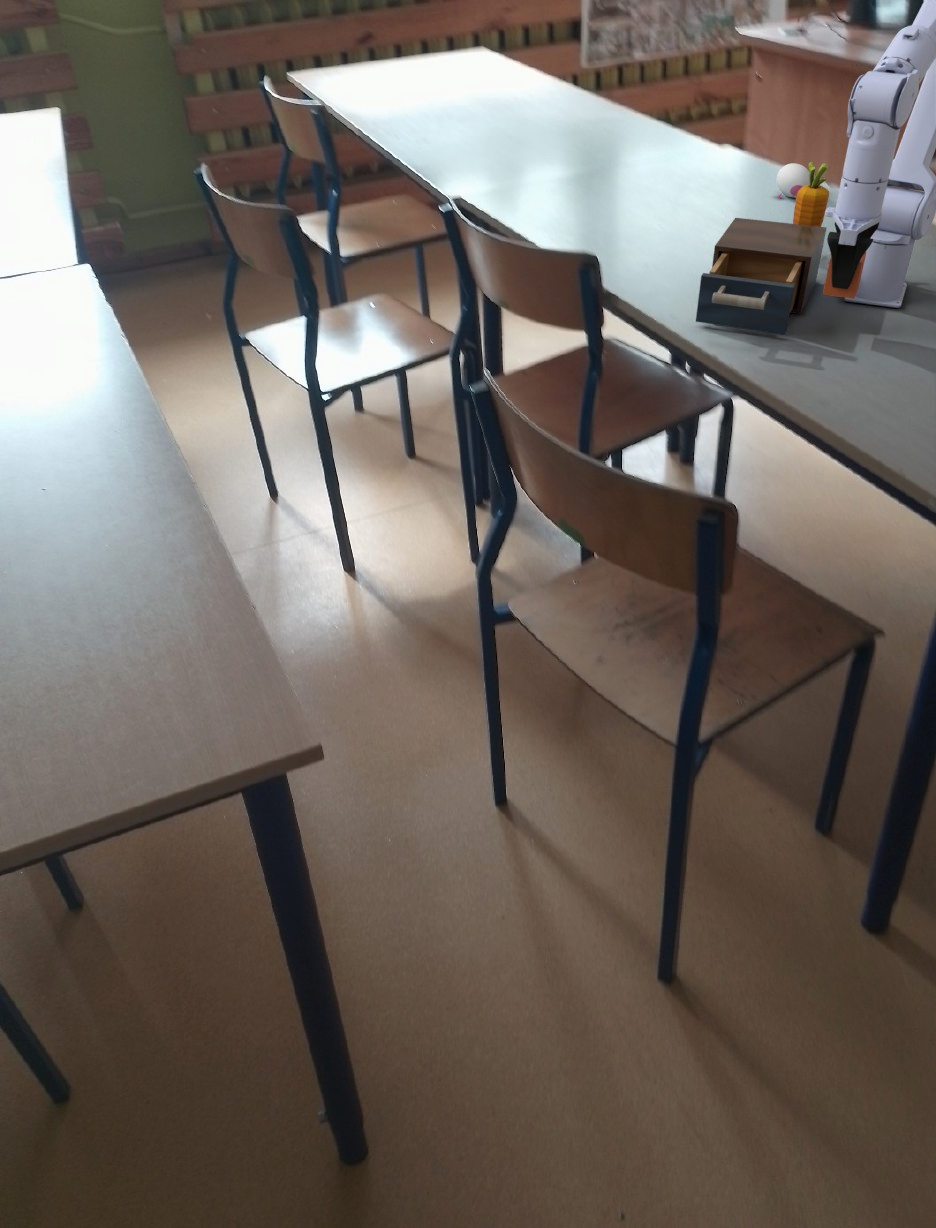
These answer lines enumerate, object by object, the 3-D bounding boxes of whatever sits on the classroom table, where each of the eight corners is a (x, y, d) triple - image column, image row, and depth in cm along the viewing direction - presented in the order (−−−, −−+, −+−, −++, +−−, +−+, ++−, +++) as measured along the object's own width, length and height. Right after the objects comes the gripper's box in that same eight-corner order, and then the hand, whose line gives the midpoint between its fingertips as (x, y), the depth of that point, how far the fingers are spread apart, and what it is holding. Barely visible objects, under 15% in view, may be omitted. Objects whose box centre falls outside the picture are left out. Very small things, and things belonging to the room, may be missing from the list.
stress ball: (806, 218, 187) (831, 186, 184) (780, 198, 182) (804, 164, 179) (786, 205, 192) (809, 173, 189) (760, 184, 188) (783, 152, 185)
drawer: (778, 348, 134) (786, 300, 130) (687, 334, 138) (692, 287, 134) (800, 302, 146) (809, 256, 142) (715, 290, 150) (721, 246, 146)
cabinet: (800, 314, 144) (811, 257, 139) (707, 301, 149) (714, 245, 144) (815, 282, 154) (826, 227, 148) (727, 271, 158) (735, 217, 153)
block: (827, 284, 138) (834, 248, 135) (858, 287, 137) (866, 251, 134) (822, 294, 135) (829, 258, 132) (854, 299, 134) (862, 262, 131)
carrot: (783, 253, 164) (800, 157, 154) (814, 254, 163) (833, 157, 154) (787, 264, 160) (804, 166, 150) (818, 264, 159) (837, 166, 150)
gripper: (841, 159, 133) (821, 259, 142) (824, 190, 123) (803, 296, 132) (896, 163, 131) (872, 265, 139) (883, 196, 121) (858, 303, 129)
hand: (842, 281), depth 135 cm, fingers closed on block, 4 cm apart
